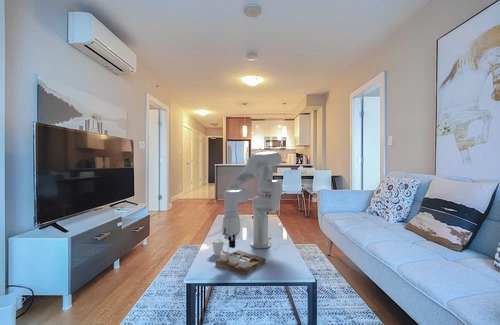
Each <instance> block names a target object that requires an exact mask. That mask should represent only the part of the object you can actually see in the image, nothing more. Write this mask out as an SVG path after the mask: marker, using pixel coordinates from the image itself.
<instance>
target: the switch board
mask: <svg viewBox="0 0 500 325" xmlns="http://www.w3.org/2000/svg"><path fill="white" fill-rule="evenodd" d="M232 254H235V255H239V256H240V259H242V257H245V258H248V259H250V266H249V267H247V268H245V269H244V268H241V267H239V263H238V264H236V265H233V264H231V263H229V260H228V261H225V262H224V261H222V260H220V257H219V258H217V259H215V266H216V267H220V268H222V269H225V270H228V272H229V271H230V272H232V273H235V274H237V275H240V276H243V277H245V276H247V275H248V274H250V273H252V272H253V271H256V270H257V269H260V268H261V267H262V266H264V265H266V264H267V258H266V257H261V256H258V255H255V254H252V253H249V252H246V251H242V250H235V251H233V252H230V256H232Z"/></svg>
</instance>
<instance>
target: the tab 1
mask: <svg viewBox="0 0 500 325" xmlns="http://www.w3.org/2000/svg"><path fill="white" fill-rule="evenodd" d="M230 254H231V252H230V251H227V252H226V250H222V253H220V256H219V258H220V260H222V261H224V262H225V261H228V260H229V256H230Z"/></svg>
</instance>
